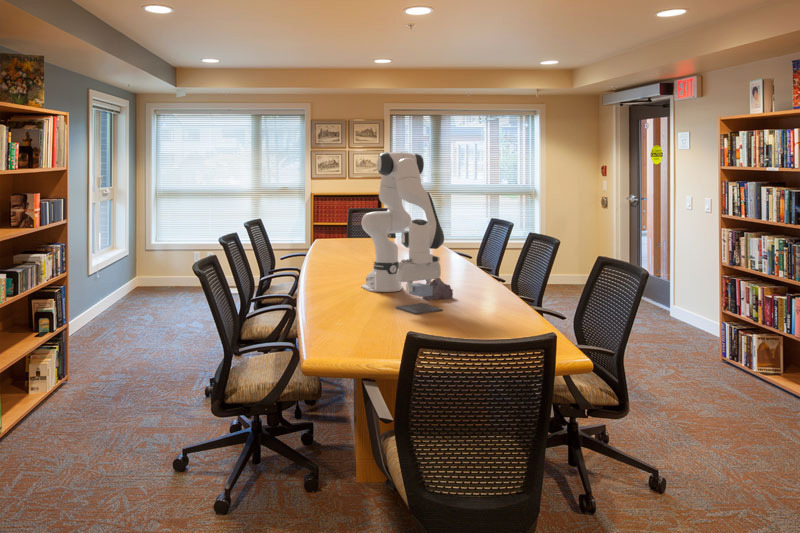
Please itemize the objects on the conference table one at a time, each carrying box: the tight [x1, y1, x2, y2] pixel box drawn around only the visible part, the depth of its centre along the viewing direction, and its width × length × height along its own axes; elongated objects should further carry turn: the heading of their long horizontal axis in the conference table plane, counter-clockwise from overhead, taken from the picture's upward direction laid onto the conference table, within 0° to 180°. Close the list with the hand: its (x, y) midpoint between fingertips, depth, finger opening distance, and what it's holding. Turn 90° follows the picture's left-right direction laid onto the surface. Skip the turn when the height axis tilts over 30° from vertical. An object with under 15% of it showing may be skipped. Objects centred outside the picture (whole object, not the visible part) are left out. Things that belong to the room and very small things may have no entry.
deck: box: [405, 282, 433, 298], centre depth 291 cm, size 11×6×4 cm, turn 34°
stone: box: [422, 277, 454, 301], centre depth 316 cm, size 10×6×15 cm
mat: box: [395, 302, 443, 315], centre depth 292 cm, size 15×14×1 cm
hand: (419, 290), depth 291 cm, fingers closed on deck, 6 cm apart
